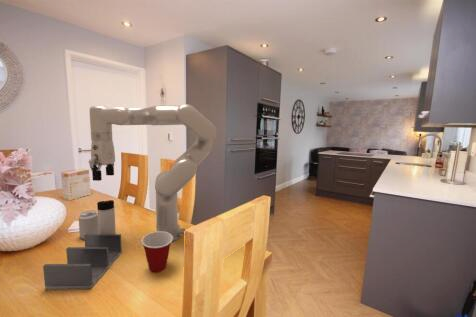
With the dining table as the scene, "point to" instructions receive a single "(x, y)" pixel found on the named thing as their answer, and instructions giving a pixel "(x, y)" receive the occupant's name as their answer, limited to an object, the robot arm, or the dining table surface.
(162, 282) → the dining table surface
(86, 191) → the coffeecake box
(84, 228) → the can
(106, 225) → the travel mug
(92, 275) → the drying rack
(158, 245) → the plastic cup
